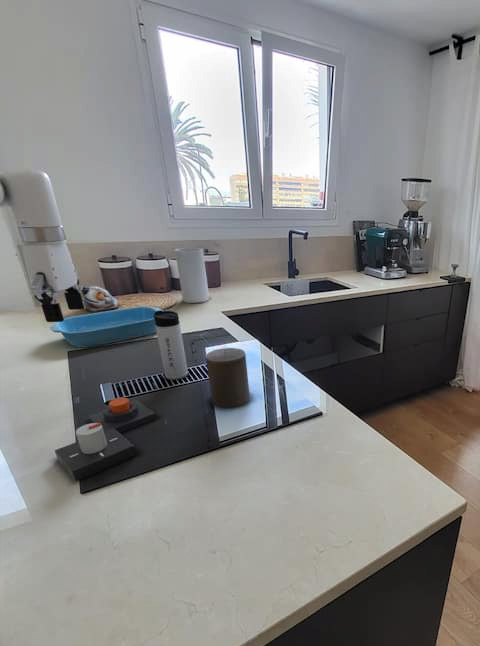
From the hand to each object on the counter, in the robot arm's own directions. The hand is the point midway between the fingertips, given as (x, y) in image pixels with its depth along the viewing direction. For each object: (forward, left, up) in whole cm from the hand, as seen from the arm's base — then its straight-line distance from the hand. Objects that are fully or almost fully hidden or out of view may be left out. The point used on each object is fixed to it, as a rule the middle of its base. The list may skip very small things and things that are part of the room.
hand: (66, 315), depth 89 cm
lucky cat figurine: (+37, +97, -25) cm, 106 cm away
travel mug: (+23, +4, -25) cm, 34 cm away
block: (+2, -11, -25) cm, 27 cm away
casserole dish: (+26, +56, -25) cm, 66 cm away
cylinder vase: (+75, +83, -25) cm, 115 cm away
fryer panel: (-7, -22, -25) cm, 34 cm away
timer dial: (-7, -22, -22) cm, 32 cm away
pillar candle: (+25, -21, -25) cm, 42 cm away
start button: (+2, -11, -21) cm, 24 cm away
